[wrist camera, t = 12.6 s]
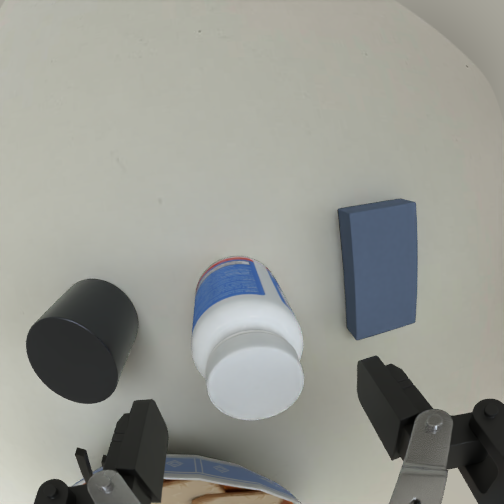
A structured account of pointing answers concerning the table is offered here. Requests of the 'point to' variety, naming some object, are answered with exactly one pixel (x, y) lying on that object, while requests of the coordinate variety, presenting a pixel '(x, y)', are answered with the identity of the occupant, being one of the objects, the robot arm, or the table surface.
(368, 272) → the blue rectangular block
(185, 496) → the ramen bowl
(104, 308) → the black cylinder
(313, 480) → the table surface
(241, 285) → the pill bottle
